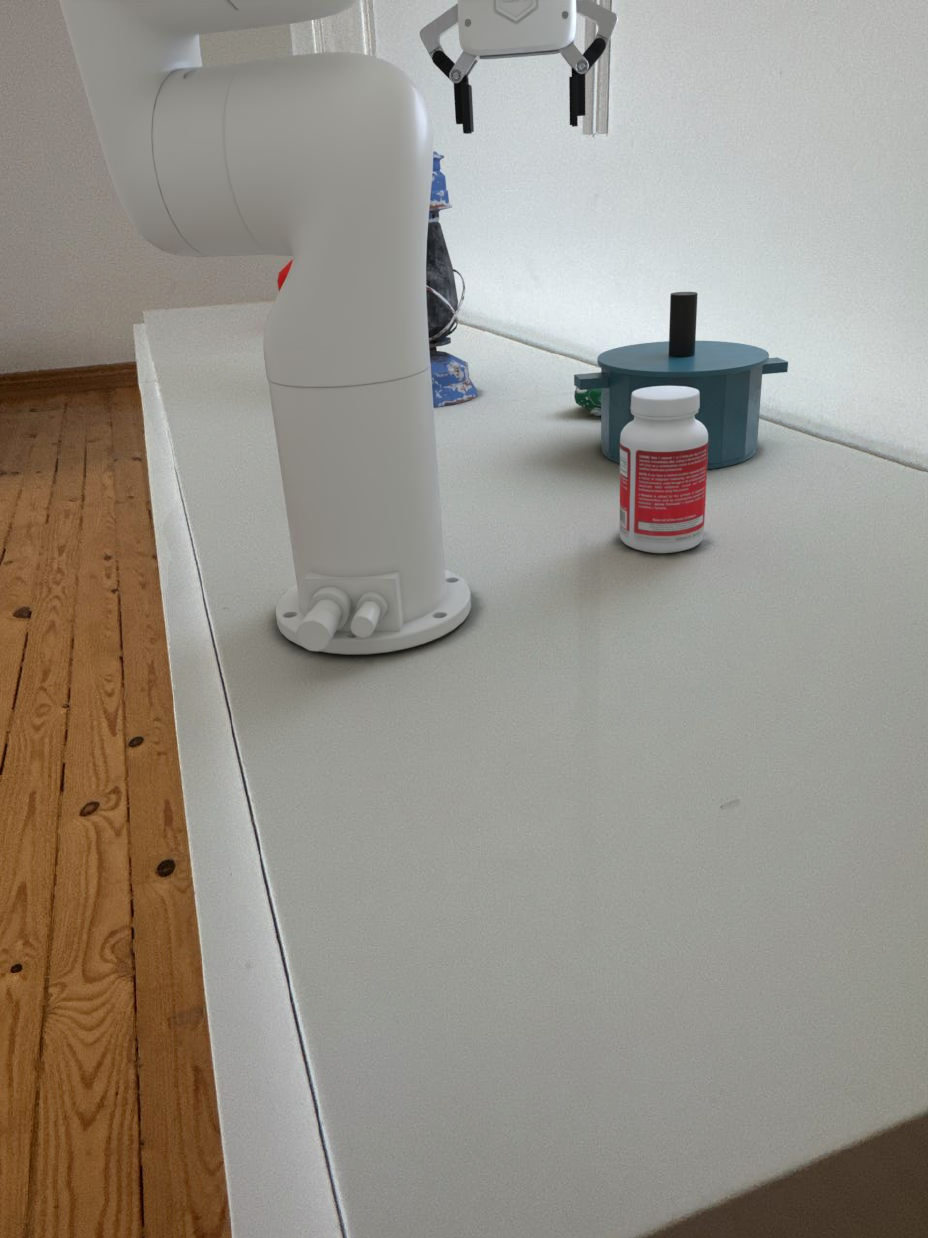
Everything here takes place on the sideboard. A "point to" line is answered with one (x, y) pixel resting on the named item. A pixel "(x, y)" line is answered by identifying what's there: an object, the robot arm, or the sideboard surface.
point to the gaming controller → (589, 399)
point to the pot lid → (683, 350)
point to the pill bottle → (663, 471)
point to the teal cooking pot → (722, 412)
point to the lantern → (443, 304)
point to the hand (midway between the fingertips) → (520, 129)
